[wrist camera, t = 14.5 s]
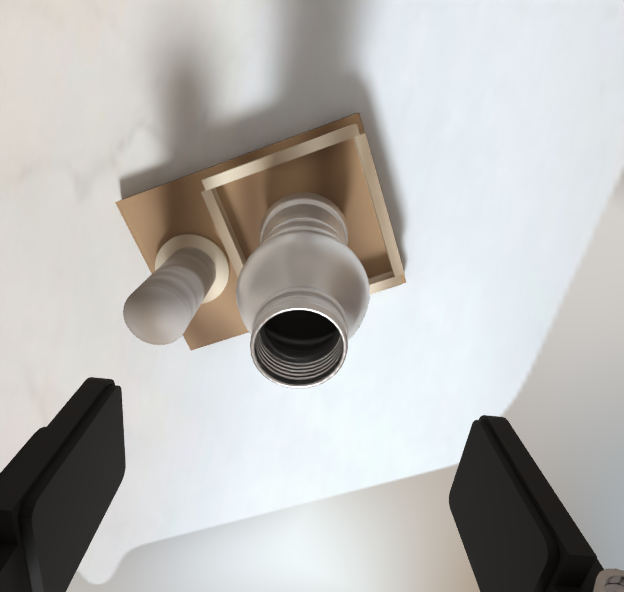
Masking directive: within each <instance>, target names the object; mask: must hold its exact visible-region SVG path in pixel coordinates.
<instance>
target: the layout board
mask: <svg viewBox="0 0 624 592" xmlns="http://www.w3.org/2000/svg"><path fill="white" fill-rule="evenodd" d="M304 192H307V193H314V194H318V195H320V196H323V197H325V198H327V199H329V200H330V201H332V202H333V203H334V204H335V205H336V206H337V207H338V208H339V209H340V211H341V212H342V213H343V215H344V217H345V219H346V222H347V226H348V244H347V247H349V248H350V249H351V250H352V251H353V253H354V254H355V255H356V257H357V258H358V259H359V261H360V262H361V264H362V266H363V268H364V270H365V272H366V274H367V277H368V282H369V287H370V294H373V293H376V292H379V291H382V290H385V289H388V288H392V287H395V286H398V285H401V284H403V283H406V280H405V276H404V274H405V273H404V270H403V266H402V263H401V259H400V255H399V252H398V248H397V245H396V241H395V237H394V234H393V230H392V227H391V223H390V219H389V216H388V212H387V209H386V205H385V201H384V198H383V194H382V191H381V187H380V183H379V180H378V176H377V173H376V169H375V165H374V162H373V158H372V155H371V151H370V148H369V144H368V140H367V137H366V133H364V129H363V125H362V122H361V118H360V115H359V113H356V114H353V115H351V116H348V117H345V118H343V119H340V120H337V121H334V122H332V123H329V124H326V125H324V126H321V127H318V128H315V129H313V130H310V131H307V132H305V133H302V134H299V135H296V136H294V137H291V138H288V139H286V140H283V141H280V142H277V143H275V144H272V145H269V146H267V147H264V148H261V149H258V150H256V151H253V152H250V153H248V154H245V155H242V156H239V157H237V158H234V159H231V160H229V161H226V162H223V163H220V164H218V165H215V166H212V167H210V168H207V169H204V170H201V171H199V172H196V173H193V174H191V175H188V176H185V177H182V178H180V179H177V180H174V181H172V182H169V183H166V184H163V185H161V186H158V187H155V188H153V189H150V190H147V191H144V192H142V193H139V194H136V195H134V196H131V197H128V198H125V199H123V200H120V201H118V202H115V203H116V205H117V207H118V209H119V210H120V212H121V214H122V216H123V218H124V220H125V222H126V224H127V226H128V228H129V230H130V232H131V234H132V236H133V238H134V240H135V242H136V244H137V246H138V248H139V250H140V252H141V254H142V256H143V257H144V259H145V261H146V263H147V265H148V267H149V269H150V271H151V273H152V275H151V276H150V277H149V278H148V279H147V280H145V281H144V282H143V283H142V284H141V285H140V286H139V287H138V288H137V289H136V290H135V291H134V292H133V293H132V294H131V295H130V296H129V297H128V299H127V300H126V302H125V305H124V310H123V315H124V320H125V323H126V325H127V327H128V328H129V330H130V331H131V332H132V333H133V334H134V335H135V336H136V337H137V338H139V339H140V340H142V341H144V342H147V343H150V344H154V345H165V344H169V343H172V342H174V341H176V340H177V339H179V338H180V337H181V336H182V335H183V336H184V338H185V340H186V342H187V344H188V346H189V348H190V350H194V349H197V348H200V347H203V346H207V345H210V344H213V343H216V342H219V341H222V340H226V339H229V338H232V337H235V336H238V335H241V334H245V333H248V332H249V331H248V330H247V328H246V326H245V325H244V323H243V321H242V318H241V316H240V313H239V310H238V307H237V301H236V286H237V280H238V277H239V274H240V271H241V269H242V267H243V266H244V264H245V262H246V261H247V259H248V258H249V256H250V255H251V254H252V253H253V252H254V251H255V250H256V249H257V247H258V246H260V240H259V230H260V224H261V221H262V219H263V217H264V215H265V213H266V212H267V210H268V209H269V208H270V207H271V206H272V205H273V204H274V203H275V202H276V201H278V200H279V199H281V198H283V197H285V196H287V195H290V194H294V193H304Z"/></svg>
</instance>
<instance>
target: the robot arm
mask: <svg viewBox="0 0 624 592" xmlns="http://www.w3.org/2000/svg"><path fill="white" fill-rule="evenodd" d="M124 473H125V446H124V428H123V410H122V392H121V387H120V386H116V385H115V383H114V380H112V379H103V378H93V377H90V378H88V379H87V380H86V381H85V382H84V383H83V384H82V385H81V387H80V388H79V389H78V390H77V391H76V392H75V394H74V395H73V396H72V397H71V398H70V400H69V401H68V402H67V403H66V404H65V406H64V407H63V408H62V409H61V410H60V412H59V413H58V414H57V415H56V416H55V418H54V419H53V420H52V421H51V422H50V424H49V425H48V426H47V427H42V428H40V429H39V430H38V431H37V432H36V433H34V435H33V436H32V437H31V438H30V439H29V440H28V442H27V443H26V444H25V445H24V446H23V447H22V449H21V450H20V451H19V452H18V453H17V454H16V456H15V457H14V458H13V459H12V460H11V461H10V463H9V464H8V465H7V466H6V467H5V468H4V470H3V471H2V472H1V473H0V592H66V590H67V588H68V586H69V584H70V582H71V580H72V578H73V576H74V574H75V572H76V570H77V568H78V566H79V564H80V562H81V560H82V558H83V557H84V555H85V553H86V551H87V549H88V547H89V545H90V543H91V541H92V539H93V537H94V535H95V533H96V531H97V529H98V527H99V525H100V523H101V521H102V519H103V517H104V515H105V513H106V511H107V509H108V507H109V505H110V503H111V501H112V499H113V497H114V495H115V494H116V492H117V490H118V488H119V486H120V484H121V482H122V479H123V477H124ZM449 505H450V509H451V512H452V515H453V517H454V520H455V523H456V526H457V528H458V531H459V534H460V537H461V539H462V542H463V545H464V548H465V550H466V553H467V556H468V559H469V561H470V564H471V567H472V570H473V572H474V575H475V578H476V580H477V583H478V586H479V589H480V592H624V571H623V570H619V569H605V570H604V569H603V567H602V566H601V564H600V563H599V561H598V559H597V556H596V554H595V553H594V552H593V550H592V548H591V547H590V545H589V544H588V542H587V541H586V539H585V538H584V536H583V535H582V533H581V532H580V530H579V529H578V527H577V526H576V524H575V522H574V521H573V520H572V518H571V516H570V515H569V513H568V512H567V510H566V509H565V507H564V506H563V504H562V503H561V501H560V500H559V498H558V497H557V495H556V494H555V492H554V490H553V489H552V487H551V486H550V484H549V483H548V481H547V480H546V478H545V477H544V475H543V474H542V472H541V471H540V469H539V468H538V466H537V465H536V463H535V462H534V460H533V458H532V457H531V456H530V454H529V452H528V451H527V449H526V448H525V447H524V445H523V443H522V442H521V440H520V439H519V437H518V436H517V434H516V433H515V431H514V429H513V428H512V426H511V425H510V423H509V422H508V420H506V418H504V417H496V416H486V415H483V416H481V417H480V418H479V420H475V421H474V422H473V424H472V426H471V429H470V433H469V436H468V439H467V442H466V445H465V448H464V451H463V454H462V457H461V460H460V463H459V466H458V469H457V472H456V475H455V478H454V482H453V484H452V487H451V490H450V494H449Z"/></svg>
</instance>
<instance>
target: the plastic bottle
mask: <svg viewBox="0 0 624 592" xmlns="http://www.w3.org/2000/svg"><path fill="white" fill-rule="evenodd" d="M259 240H260V246H258V247H257V249H256V250H255V251H254V252H253V253H252V254H251V255H250V256H249V258H248V259H247V261H246V262H245V264H244V266H243V267H242V269H241V271H240V274H239V277H238V280H237V286H236V301H237V307H238V310H239V313H240V316H241V318H242V321H243V323H244V325H245V326H246V328H247V330H248V331H249V333H250V334H251V342H250V348H251V356H252V359H253V362H254V364H255V366H256V367H257V369H258V370H259V371H260V372H261V373H262V375H263V376H265V377H266V378H267V379H269V380H270V381H272V382H274V383H276V384H278V385H281V386H284V387H289V388H308V387H313V386H316V385H319V384H322V383H324V382H325V381H327V380H329V379H330V378H331V377H333V376H334V375H335V374H336V373H337V372H338V371H339V369H340V368H341V367H342V365H343V363H344V360H345V358H346V353H347V349H348V340H349V339H350V338H351V337H352V336H353V335H354V334H355V332H356V331H357V330H358V328H359V327H360V325H361V323H362V320H363V318H364V316H365V314H366V311H367V308H368V304H369V299H370V287H369V282H368V277H367V274H366V272H365V270H364V268H363V266H362V264H361V262H360V261H359V259H358V258H357V257H356V255H355V254H354V253H353V251H352V250H351V249H350V248H349V247H347V244H348V226H347V222H346V219H345V217H344V215H343V213H342V212H341V211H340V209H339V208H338V207H337V206H336V205H335V204H334V203H333V202H332V201H330V200H329V199H327V198H325V197H323V196H320V195H318V194H314V193H307V192H304V193H294V194H290V195H287V196H285V197H283V198H281V199H279V200H278V201H276V202H275V203H274V204H273V205H272V206H271V207H270V208H269V209H268V210H267V212H266V213H265V215H264V217H263V219H262V221H261V224H260V230H259Z"/></svg>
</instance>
